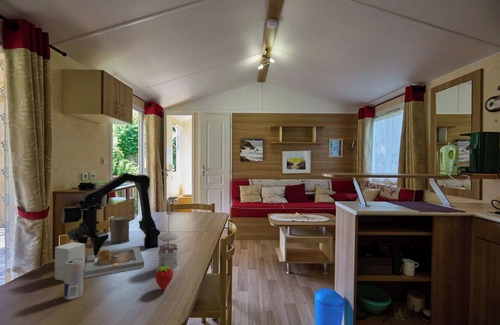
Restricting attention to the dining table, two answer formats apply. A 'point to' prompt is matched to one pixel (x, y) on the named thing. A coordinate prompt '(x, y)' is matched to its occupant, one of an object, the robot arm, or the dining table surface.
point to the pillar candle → (119, 229)
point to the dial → (113, 257)
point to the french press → (168, 257)
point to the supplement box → (67, 257)
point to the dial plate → (96, 270)
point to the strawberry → (164, 276)
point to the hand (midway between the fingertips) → (89, 253)
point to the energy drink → (73, 279)
